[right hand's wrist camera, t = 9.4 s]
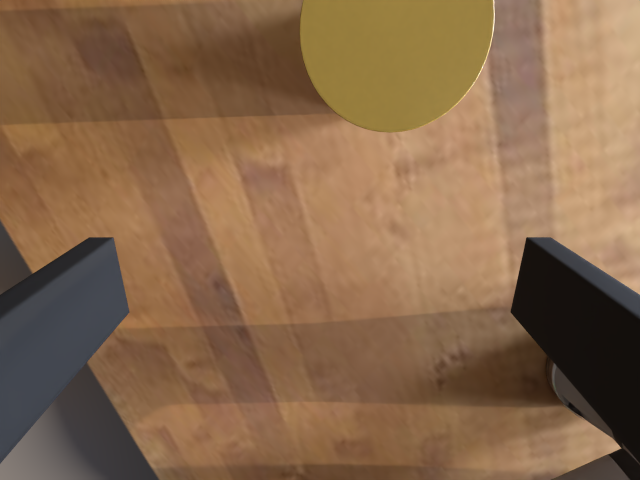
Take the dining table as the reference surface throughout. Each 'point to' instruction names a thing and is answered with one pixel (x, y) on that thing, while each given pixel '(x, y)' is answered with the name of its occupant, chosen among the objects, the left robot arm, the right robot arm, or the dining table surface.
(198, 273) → the dining table surface
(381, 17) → the lid
